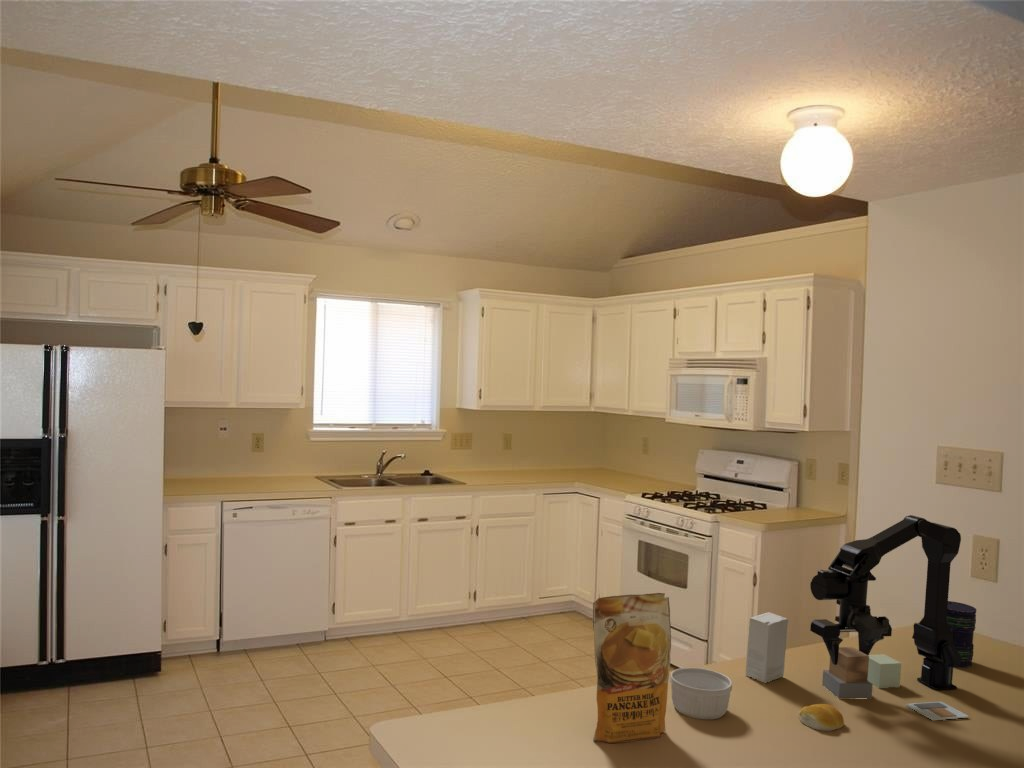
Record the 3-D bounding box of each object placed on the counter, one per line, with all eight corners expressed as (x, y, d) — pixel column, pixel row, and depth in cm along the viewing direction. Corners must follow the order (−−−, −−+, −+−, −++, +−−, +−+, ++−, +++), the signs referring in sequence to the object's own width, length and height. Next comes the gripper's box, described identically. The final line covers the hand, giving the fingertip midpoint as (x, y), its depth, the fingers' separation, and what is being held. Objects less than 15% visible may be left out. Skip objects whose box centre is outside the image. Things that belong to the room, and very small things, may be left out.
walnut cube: (850, 671, 199) (852, 646, 198) (867, 681, 193) (869, 656, 193) (828, 672, 197) (830, 647, 197) (845, 682, 191) (847, 657, 191)
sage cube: (882, 677, 206) (883, 654, 206) (899, 687, 200) (901, 663, 200) (861, 679, 205) (863, 655, 204) (878, 688, 199) (880, 664, 199)
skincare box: (763, 669, 207) (768, 611, 206) (785, 677, 202) (789, 617, 201) (743, 676, 201) (748, 616, 201) (765, 684, 197) (769, 623, 196)
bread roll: (850, 727, 176) (851, 708, 176) (824, 735, 171) (825, 716, 171) (817, 712, 183) (818, 694, 183) (791, 719, 178) (792, 701, 178)
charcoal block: (853, 687, 199) (854, 670, 199) (871, 701, 192) (872, 684, 191) (822, 686, 199) (823, 670, 198) (838, 700, 191) (839, 683, 191)
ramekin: (656, 707, 180) (658, 675, 180) (688, 692, 189) (690, 662, 189) (710, 728, 171) (713, 695, 170) (741, 711, 180) (743, 680, 180)
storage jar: (980, 669, 217) (984, 613, 216) (942, 666, 217) (947, 610, 216) (960, 655, 227) (964, 601, 226) (924, 653, 227) (928, 599, 226)
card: (941, 703, 192) (941, 700, 192) (968, 718, 184) (969, 715, 184) (905, 705, 189) (905, 702, 189) (932, 721, 181) (932, 718, 181)
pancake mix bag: (577, 731, 165) (586, 593, 164) (659, 722, 172) (668, 589, 171) (592, 747, 159) (601, 603, 158) (677, 736, 166) (686, 599, 165)
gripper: (842, 610, 184) (837, 678, 185) (911, 608, 189) (906, 675, 190) (811, 595, 195) (806, 660, 195) (877, 593, 200) (872, 657, 200)
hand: (848, 663), depth 195 cm, fingers open, 7 cm apart
